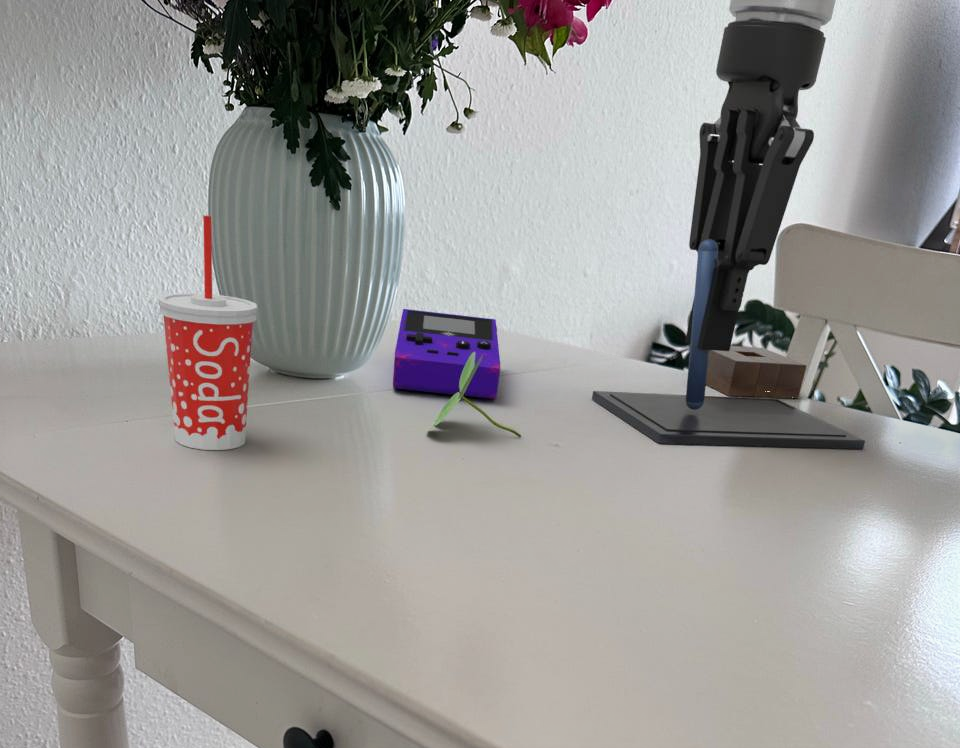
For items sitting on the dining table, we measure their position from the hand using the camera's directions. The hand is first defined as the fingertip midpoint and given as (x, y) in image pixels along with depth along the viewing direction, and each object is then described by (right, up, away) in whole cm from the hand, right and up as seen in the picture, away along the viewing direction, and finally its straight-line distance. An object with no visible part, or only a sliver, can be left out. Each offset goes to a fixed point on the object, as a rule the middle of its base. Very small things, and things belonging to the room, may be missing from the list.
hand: (706, 346), depth 83 cm
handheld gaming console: (-23, -1, +7) cm, 24 cm away
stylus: (-1, -5, +2) cm, 5 cm away
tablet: (+2, -6, +4) cm, 7 cm away
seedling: (-21, -10, -9) cm, 24 cm away
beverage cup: (-38, -12, -17) cm, 43 cm away
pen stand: (+8, +2, +20) cm, 22 cm away
